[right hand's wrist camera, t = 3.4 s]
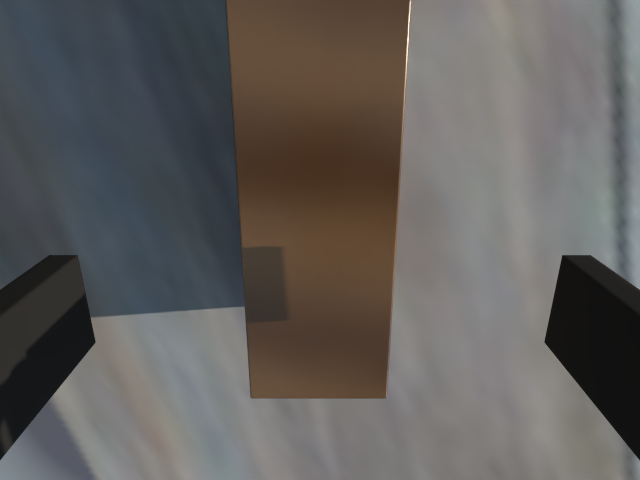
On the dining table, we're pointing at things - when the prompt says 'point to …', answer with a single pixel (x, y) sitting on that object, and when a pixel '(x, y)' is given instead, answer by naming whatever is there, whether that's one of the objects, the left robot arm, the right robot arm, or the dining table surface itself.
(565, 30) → the dining table surface
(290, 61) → the beam
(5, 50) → the dining table surface
